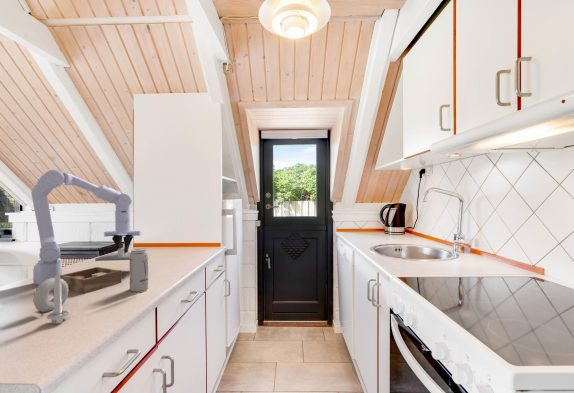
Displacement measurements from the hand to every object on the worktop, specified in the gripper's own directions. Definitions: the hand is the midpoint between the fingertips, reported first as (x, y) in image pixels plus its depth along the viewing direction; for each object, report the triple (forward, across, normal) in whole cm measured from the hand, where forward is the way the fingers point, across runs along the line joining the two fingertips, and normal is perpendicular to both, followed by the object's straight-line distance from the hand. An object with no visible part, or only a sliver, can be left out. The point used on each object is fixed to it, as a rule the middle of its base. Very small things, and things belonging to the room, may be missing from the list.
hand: (123, 252), depth 133 cm
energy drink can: (+10, +15, -26) cm, 31 cm away
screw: (+10, +2, -50) cm, 51 cm away
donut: (+10, -4, -42) cm, 43 cm away
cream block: (+9, -2, -16) cm, 18 cm away
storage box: (+10, -4, -18) cm, 21 cm away
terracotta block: (+9, -9, -20) cm, 23 cm away
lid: (+2, 0, -1) cm, 2 cm away
